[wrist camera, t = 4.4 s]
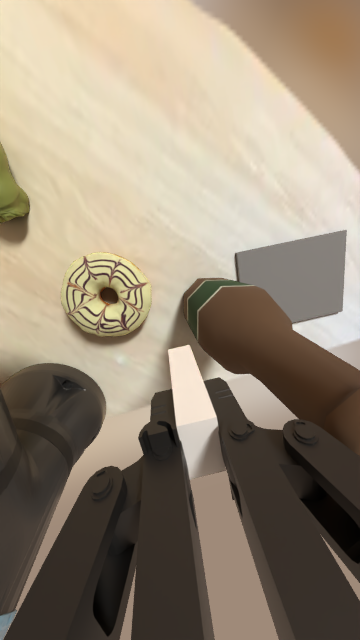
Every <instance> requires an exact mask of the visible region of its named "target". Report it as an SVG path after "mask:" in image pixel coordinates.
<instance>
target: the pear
mask: <svg viewBox="0 0 360 640" xmlns="http://www.w3.org/2000/svg"><path fill="white" fill-rule="evenodd" d="M28 202H29V199H28V196H27V194H26V193H25V192H24V191H23V190H22V189H21V188H20V187H19V186H18V185H17V184H16V182H15V180H14V178H13V177H12V175H11V173H10V170H9V165H8V160H7V156H6V153H5V151H4V149H3V146H2V144H1V142H0V223H3V222H5V221H9V220H11V219H13V218H17V216H24V215H25V214H26V213H29V204H28Z"/></svg>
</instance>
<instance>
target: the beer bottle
mask: <svg viewBox="0 0 360 640" xmlns="http://www.w3.org/2000/svg"><path fill="white" fill-rule="evenodd" d="M184 316H185V319H186V320H187V322H188V324H189V326H190V328H191V330H192V332H193V334H194V336H195V338H196V340H197V341H198V343H199V344H200V346H201V347H202V348H203V350H204V351H205V352H206V353H208V354H209V355H210V356H211V357H212V358H213V359H214V360H216V361H217V362H218V363H219V364H220V365H221V366H222V367H224V368H225V369H226V370H228V371H230V372H232V373H234V374H251V375H253V376H254V377H256V378H257V379H258V380H260V381H261V382H262V383H263V384H264V385H265V386H266V387H267V388H268V389H269V390H270V391H271V392H272V393H273V394H274V395H275V396H276V397H277V398H278V399H279V400H280V401H281V402H282V403H283V404H284V405H285V406H286V407H287V408H288V409H289V410H290V411H291V412H292V413H293V414H295V415H296V417H298V418H299V419H300V420H306V421H309V422H312V423H314V424H316V425H317V426H319V427H321V428H322V429H323V430H325V431H326V432H328V433H329V434H330V435H332V436H333V437H334V438H336V439H337V440H338V441H340V442H341V443H343V444H344V445H345V446H347V447H348V448H349V449H351V450H352V451H353V452H355V453H356V454H358V455H359V456H360V371H359V370H358V369H356V368H355V367H353V366H351V365H350V364H348V363H347V362H345V361H343V360H342V359H340V358H338V357H337V356H335V355H333V354H332V353H330V352H328V351H327V350H325V349H323V348H322V347H320V346H318V345H317V344H315V343H313V342H312V341H310V340H309V339H307V338H305V337H304V336H302V335H300V334H299V333H297V332H295V331H294V330H293V329H292V321H291V320H290V318H289V317H288V316H287V315H286V313H285V312H284V311H283V310H282V309H281V308H280V306H279V305H278V304H277V303H276V302H275V301H274V300H273V298H272V297H271V296H270V295H269V294H268V293H267V291H266V290H264V289H262V288H259V287H257V286H254V285H250V284H246V283H241V282H237V281H233V280H228V279H224V278H199V279H197V280H196V281H195V282H194V283H193V284H192V286H191V287H190V288H189V289H188V290H187V291H186V292H185V293H184Z"/></svg>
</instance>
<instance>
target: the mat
mask: <svg viewBox="0 0 360 640" xmlns="http://www.w3.org/2000/svg"><path fill="white" fill-rule="evenodd" d="M346 232H347V230H343V231H339V232H334V233H329V234H324V235H319V236H315V237H310V238H305V239H300V240H295V241H291V242H286V243H281V244H276V245H271V246H267V247H262V248H257V249H252V250H247V251H243V252H238V253H236V261H237V271H238V280H239V282H241V283H246V284H250V285H254V286H257V287H259V288H262V289H264V290H266V291H267V293H268V294H269V295H270V296H271V297H272V298H273V300H274V301H275V302H276V303H277V304H278V305H279V306H280V308H281V309H282V310H283V311H284V312H285V313H286V315H287V316H288V317H289V318H290V320H291V321H292V323H294V322H298V321H303V320H307V319H311V318H316V317H320V316H324V315H328V314H333V313H337V312H341V311H342V308H343V289H344V270H345V251H346Z"/></svg>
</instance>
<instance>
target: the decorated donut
mask: <svg viewBox="0 0 360 640" xmlns="http://www.w3.org/2000/svg"><path fill="white" fill-rule="evenodd" d="M108 287H109V288H112V289H114V290H115V291H116V293H117V294H118V302H117V303H114V304H108V303H106V302H105V301H103V300H102V298H101V292H102V291H103V289H105V288H108ZM151 302H152V298H151V284H150V282H149V281H148V280H147V278H146V277H145V275H144V274H143V273H142V272H141V271H140V270H139V269H138V268H137V267H136V266H135V265H134V264H132V263H131V262H130V261H128V260H126V259H124V258H122V257H120V256H118V255H115V254H111V253H104V252H103V253H102V252H96V253H91V254H90V255H87V256H83V257H81V258H79V259H78V260H76V261H74V262H73V263H72V264H71V266H70V267H69V269H68V270H67V272H66V274H65V277H64V280H63V286H62V290H61V303H62V306H63V308H64V309H65V311H66V313H67V315H68V316H69V317H70V319H71V320H72V321H73V322H74V323H76V324H77V325H78V326H79V327H80V328H81V329H82V330H83V331H85V332H87V333H94V334H96V335H98V336H100V337H101V336H122V335H126V334H129V333H130V332H132V331H133V330H135V329H136V328H138V327H139V326H140V324H141V323H142V322H143V321H144V320H145V318H146V317H147V315H148V312H149V310H150V307H151Z"/></svg>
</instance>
